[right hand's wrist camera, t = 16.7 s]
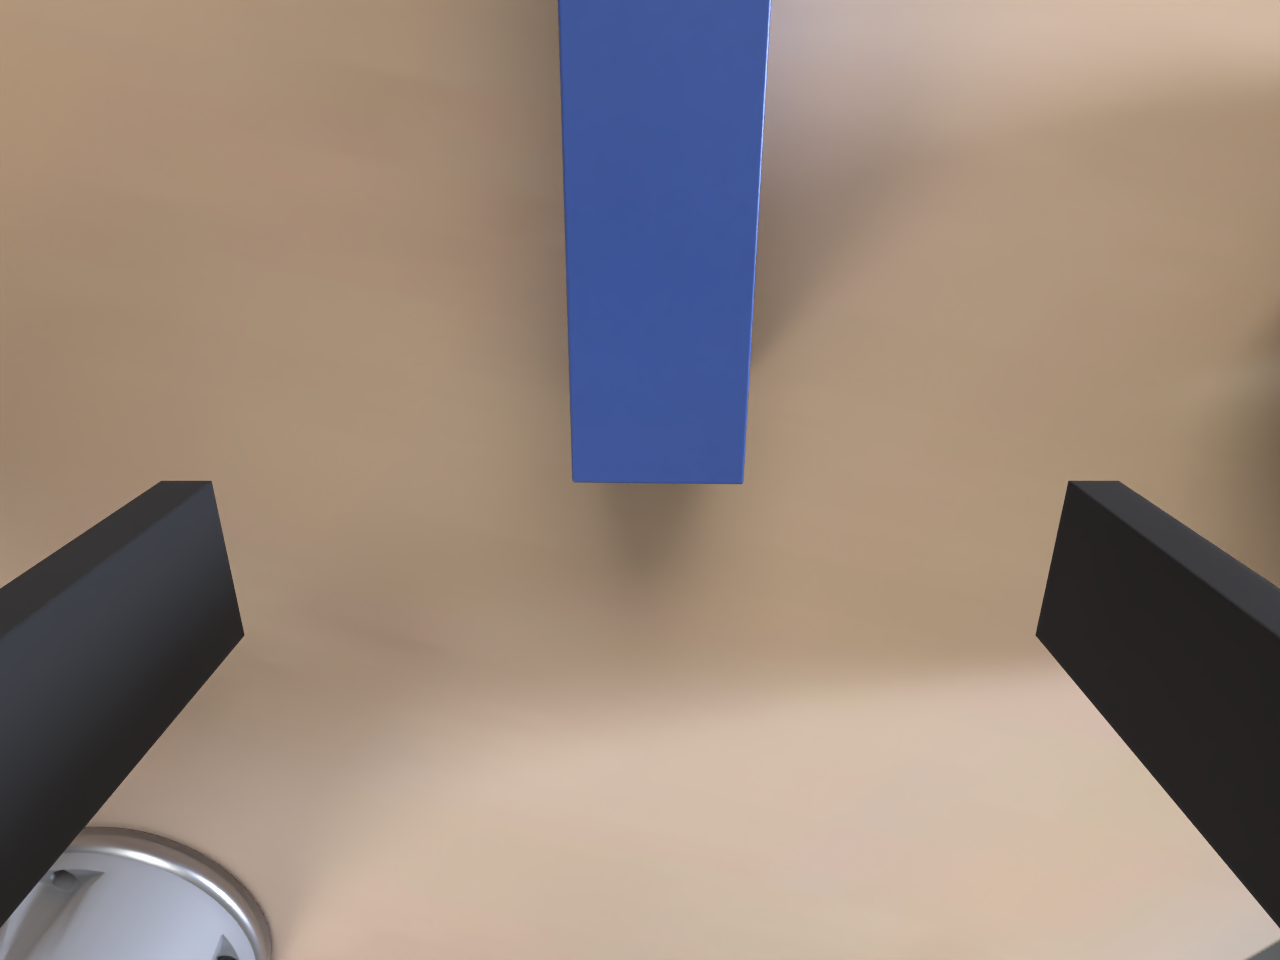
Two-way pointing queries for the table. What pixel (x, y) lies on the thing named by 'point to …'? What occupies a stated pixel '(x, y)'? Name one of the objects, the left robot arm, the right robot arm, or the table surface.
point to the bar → (661, 232)
